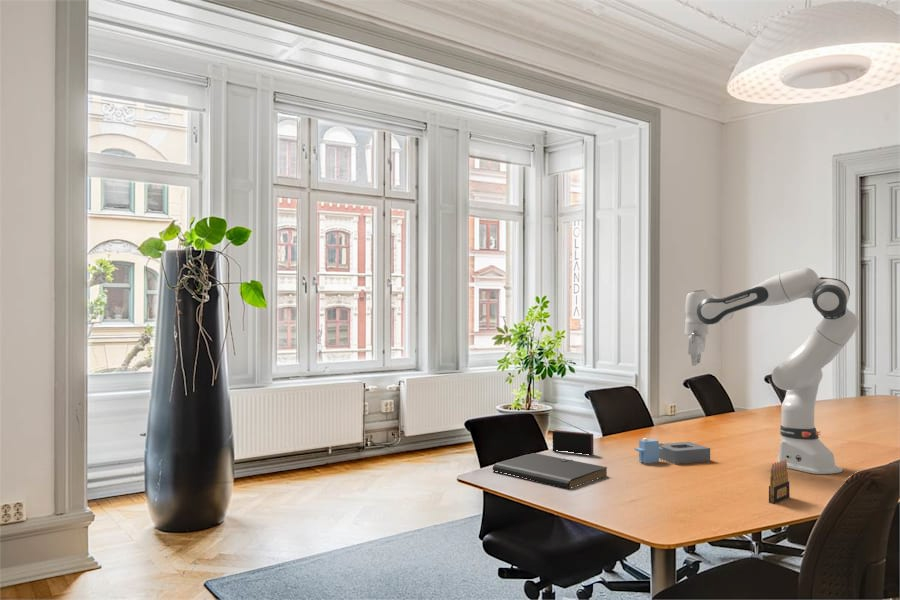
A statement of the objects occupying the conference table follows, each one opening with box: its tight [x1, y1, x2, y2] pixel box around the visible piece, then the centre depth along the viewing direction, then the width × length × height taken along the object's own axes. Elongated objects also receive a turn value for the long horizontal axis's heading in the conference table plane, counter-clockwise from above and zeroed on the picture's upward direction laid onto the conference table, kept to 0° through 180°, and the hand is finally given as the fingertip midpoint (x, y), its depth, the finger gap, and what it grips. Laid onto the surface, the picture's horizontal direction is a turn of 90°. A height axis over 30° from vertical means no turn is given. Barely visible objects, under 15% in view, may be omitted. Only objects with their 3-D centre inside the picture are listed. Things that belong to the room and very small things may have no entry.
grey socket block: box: [659, 441, 711, 465], centre depth 261 cm, size 13×16×5 cm
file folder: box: [492, 452, 608, 490], centre depth 239 cm, size 33×4×24 cm
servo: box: [634, 437, 664, 464], centre depth 257 cm, size 4×12×9 cm, turn 107°
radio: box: [548, 414, 595, 456], centre depth 273 cm, size 19×3×15 cm, turn 59°
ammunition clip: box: [768, 459, 791, 505], centre depth 205 cm, size 11×2×12 cm, turn 131°
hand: (696, 364), depth 269 cm, fingers open, 8 cm apart
